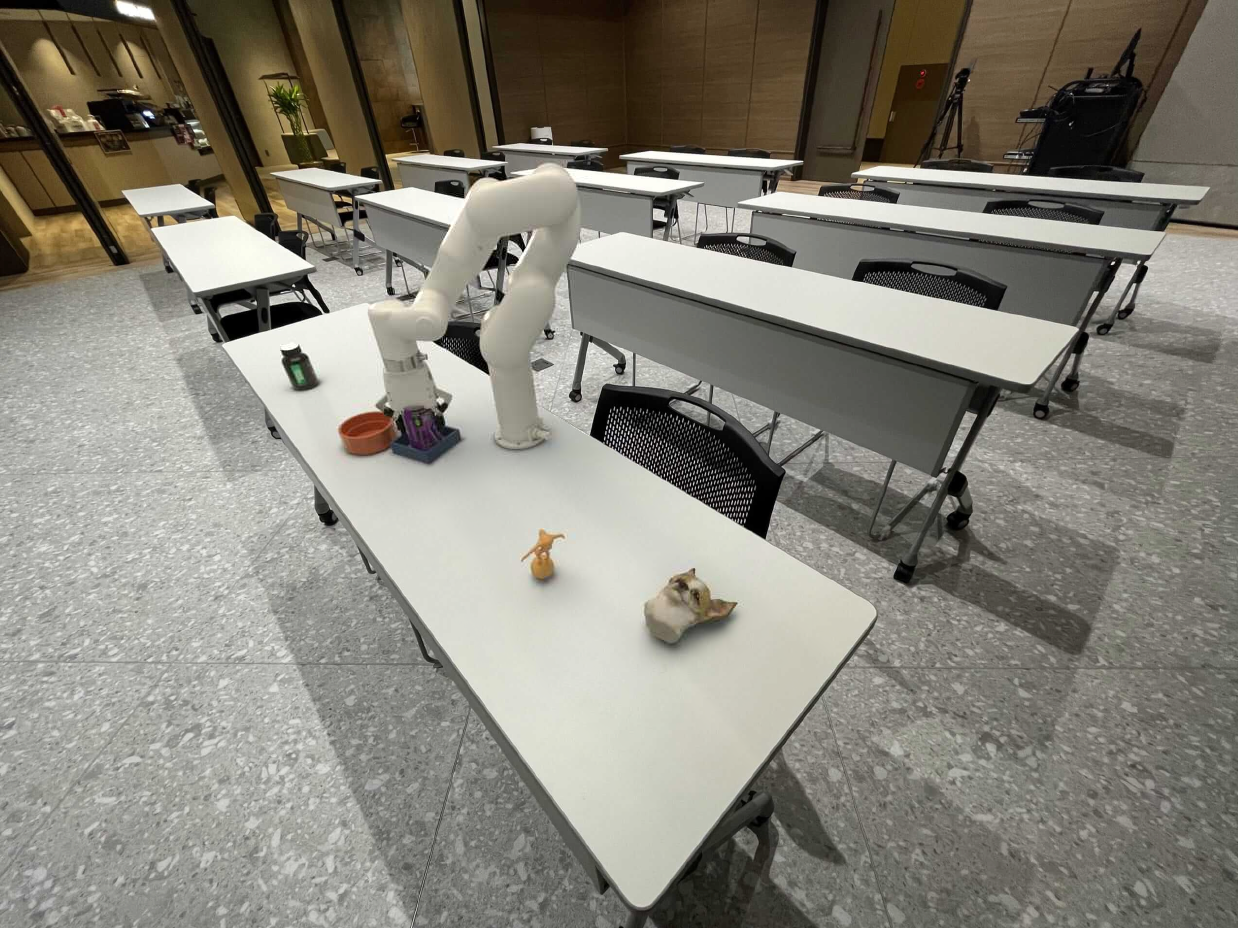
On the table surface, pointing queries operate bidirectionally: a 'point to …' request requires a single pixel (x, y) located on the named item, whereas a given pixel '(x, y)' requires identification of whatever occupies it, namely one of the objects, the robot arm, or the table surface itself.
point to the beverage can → (421, 427)
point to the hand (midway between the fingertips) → (422, 430)
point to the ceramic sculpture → (683, 607)
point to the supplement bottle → (298, 367)
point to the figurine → (542, 563)
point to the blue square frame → (432, 454)
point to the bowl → (367, 433)
